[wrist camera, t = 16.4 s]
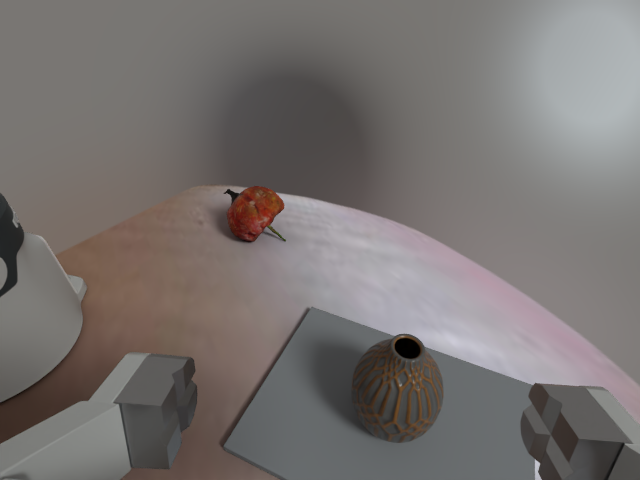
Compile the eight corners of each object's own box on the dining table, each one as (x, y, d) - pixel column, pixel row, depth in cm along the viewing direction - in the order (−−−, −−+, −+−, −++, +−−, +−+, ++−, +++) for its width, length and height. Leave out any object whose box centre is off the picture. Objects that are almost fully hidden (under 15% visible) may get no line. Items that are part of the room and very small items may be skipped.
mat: (224, 449, 30) (223, 446, 29) (311, 310, 41) (311, 306, 41) (532, 610, 23) (535, 608, 22) (531, 389, 35) (533, 385, 34)
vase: (337, 386, 34) (345, 318, 28) (409, 369, 35) (428, 303, 30) (365, 468, 28) (380, 403, 23) (448, 444, 30) (479, 379, 25)
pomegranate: (287, 235, 56) (238, 187, 55) (312, 213, 50) (258, 158, 49) (257, 268, 51) (202, 215, 50) (282, 248, 46) (220, 188, 45)
